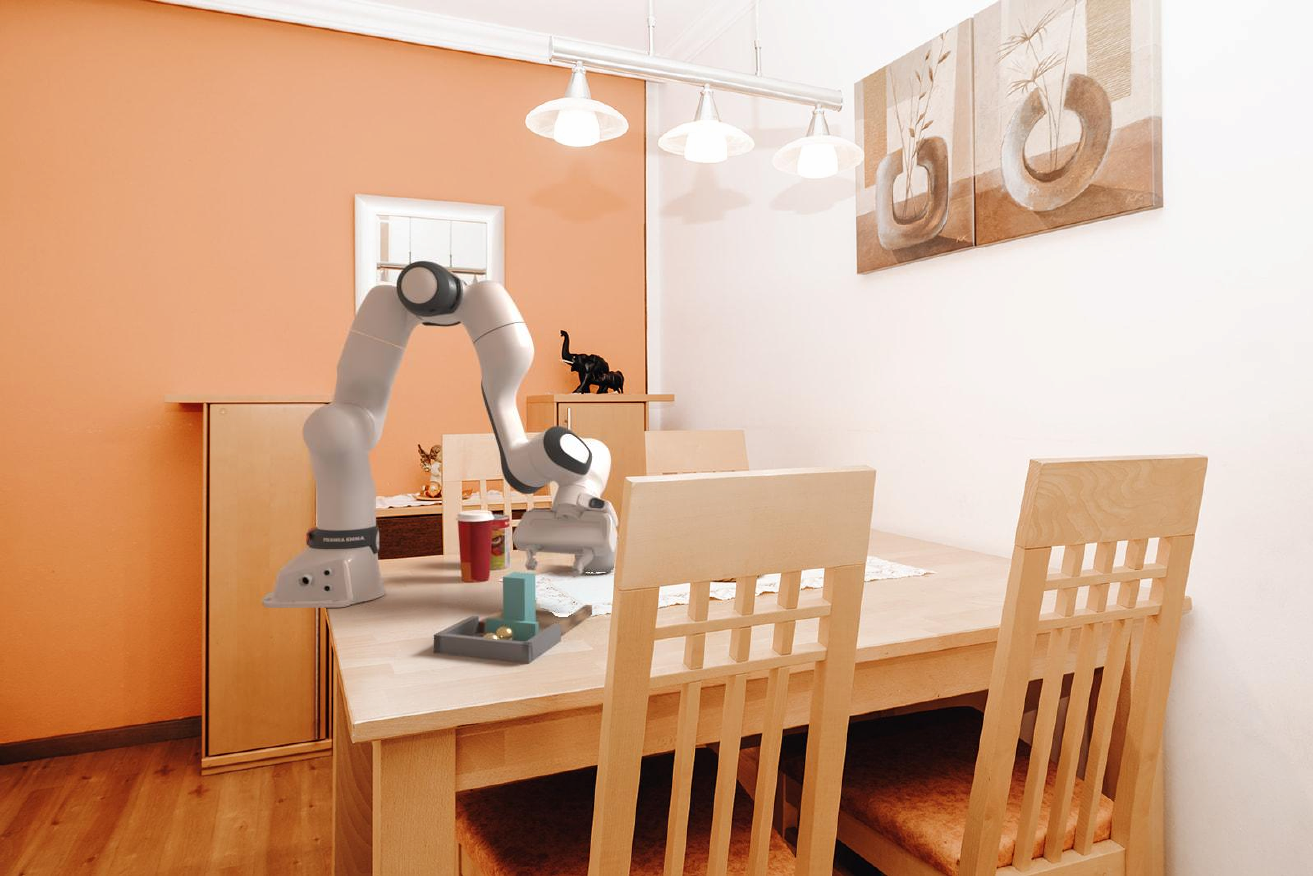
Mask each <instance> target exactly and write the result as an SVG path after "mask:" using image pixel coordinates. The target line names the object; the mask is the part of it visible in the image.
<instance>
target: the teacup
mask: <svg viewBox="0 0 1313 876" xmlns="http://www.w3.org/2000/svg"><path fill="white" fill-rule="evenodd" d="M618 537H619V535H617V542H618ZM617 542H616V545H617ZM615 554H616V547H615V550H614V552H613V553H612V554H611V555H610V556H608V557H605V556H593V559H592V561H590V562H589V563H588V564H587V565H586V566H585V567H584V569H583V572H582V573H585V572H590V573H591V572H593V573H596V572H608V573H611V572H612V571H613V570H614V569H615V568H614V562H615ZM582 556H583V555H575V554H574V561H579V560H580V559H581V557H582ZM611 570H612V571H611ZM610 571H611V572H610Z"/></svg>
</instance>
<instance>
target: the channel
mask: <svg viewBox="0 0 1313 876" xmlns="http://www.w3.org/2000/svg"><path fill="white" fill-rule="evenodd" d="M549 611H550V610H543V609H542V610H541V609H536V622H539V633H540V632H542V631H543V630H545V629H546V628H548V627H549V626H551V625H552V624H554V623H555V624H561V637H563V636H564V635H566V634H567V633H569V632H570V631H572V630H573V629H574V628H577V626H578V625H580V624H582V623H583V622H585V621H586V620H587V619H588V618H590V617H592V616H593V605H592V604H585V605H584V606H582V607H580V608H579V609H576V610H575V611H574V612H572V613H573V614H571V615H569V616H568V617H558V616H555V615H554V614H553V613H552V612H549ZM591 615H592V616H591ZM489 617H492V618H502V619H503V608H502V609H500V610H498V611H497V612H495V613H492V614H491V615H488V616H486V617H485V618H482V619H481V620H479V633H484V634H486V619H488V618H489Z"/></svg>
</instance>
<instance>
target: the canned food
mask: <svg viewBox="0 0 1313 876" xmlns="http://www.w3.org/2000/svg"><path fill="white" fill-rule="evenodd" d="M492 515H493V517H494V519H493V527H492V545H491V563H490V571H498V570H505V569H508V568H510V565H511V564H510V563H511V559H510V558H511V557H510V554H511V549H510V548H511V547H510V546H511V545H510V542H511V541H510V540H511V539H510V538H511V537H510V535H511V534H510V533H511V532H510V529H511V528H510V522H511V521H510V520H511V519H510V516H509V515H507V514H492Z"/></svg>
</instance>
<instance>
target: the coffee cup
mask: <svg viewBox="0 0 1313 876" xmlns="http://www.w3.org/2000/svg"><path fill="white" fill-rule="evenodd" d="M493 515H494V514H493V512H492V511H490V510H483V509H476V510H475V509H473V510H462V511H459V512H458V514H457V517H456V518H455V520H456V521H457V529H458V542H459V543H458V545H459V559H460V561H459V563H460V572H461V574H460V575H461V581H462V582H465V583H482V582H487V581H489V580H490V575H491V570H490V563H491V545H492V527H493V519H494V517H493Z"/></svg>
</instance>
